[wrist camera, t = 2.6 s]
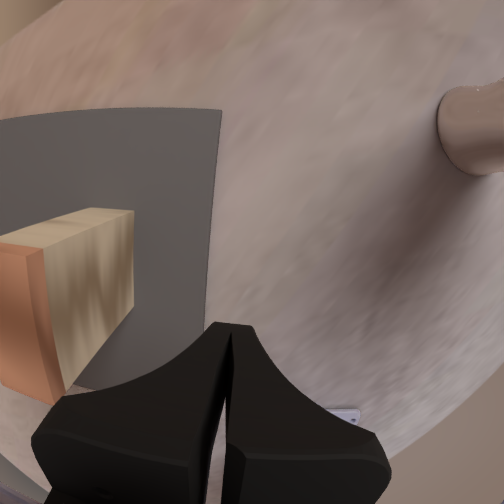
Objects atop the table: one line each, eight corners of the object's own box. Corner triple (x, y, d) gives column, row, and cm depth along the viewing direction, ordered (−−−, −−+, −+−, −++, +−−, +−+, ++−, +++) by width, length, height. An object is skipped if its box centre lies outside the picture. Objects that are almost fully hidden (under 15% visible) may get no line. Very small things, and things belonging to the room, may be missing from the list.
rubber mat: (200, 407, 22) (200, 411, 21) (-5, 353, 21) (-7, 355, 21) (222, 111, 17) (221, 109, 16) (-24, 125, 16) (-27, 125, 16)
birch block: (134, 306, 19) (55, 406, 10) (93, 299, 19) (2, 385, 10) (134, 210, 18) (25, 256, 8) (90, 207, 18) (-29, 246, 8)
